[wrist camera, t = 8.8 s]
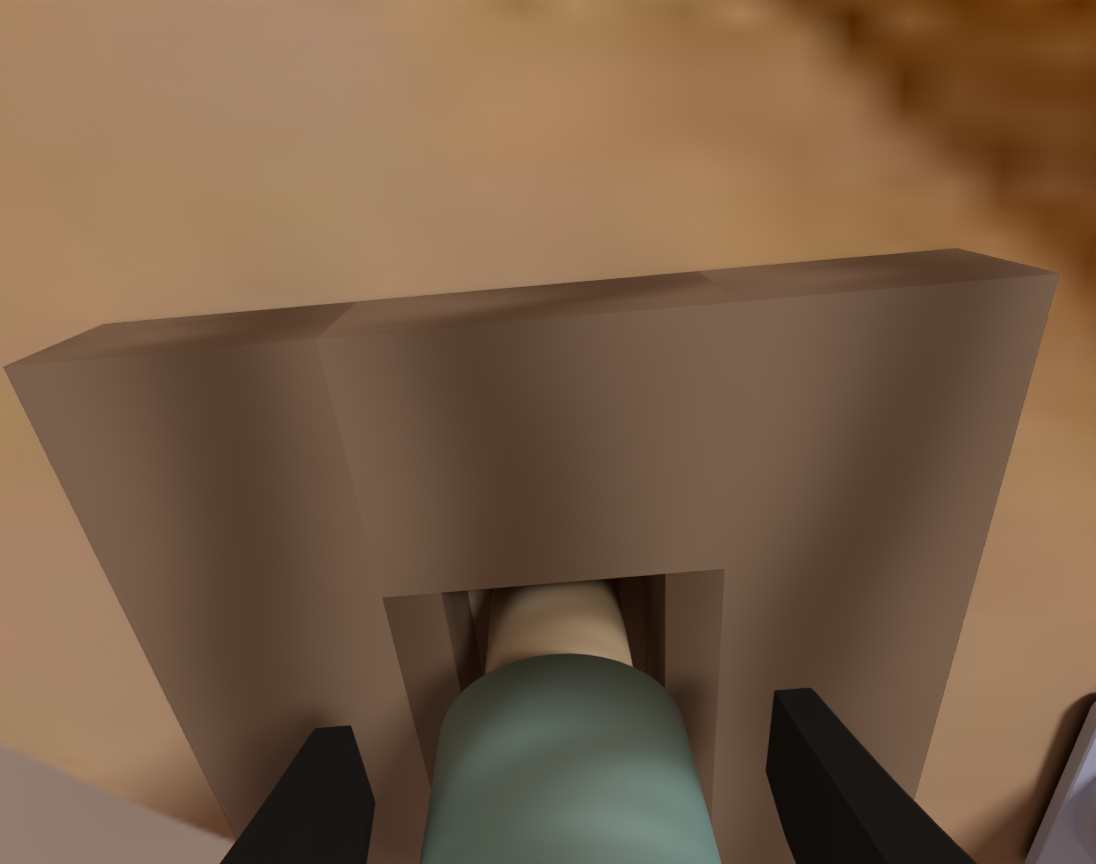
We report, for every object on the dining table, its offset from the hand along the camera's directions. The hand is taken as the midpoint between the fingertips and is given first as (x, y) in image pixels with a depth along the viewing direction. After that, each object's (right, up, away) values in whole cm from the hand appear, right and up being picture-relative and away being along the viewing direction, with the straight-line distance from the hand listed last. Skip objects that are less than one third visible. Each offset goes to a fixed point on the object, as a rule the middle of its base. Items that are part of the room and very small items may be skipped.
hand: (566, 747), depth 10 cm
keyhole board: (0, -2, +6) cm, 6 cm away
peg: (0, +2, +4) cm, 4 cm away
